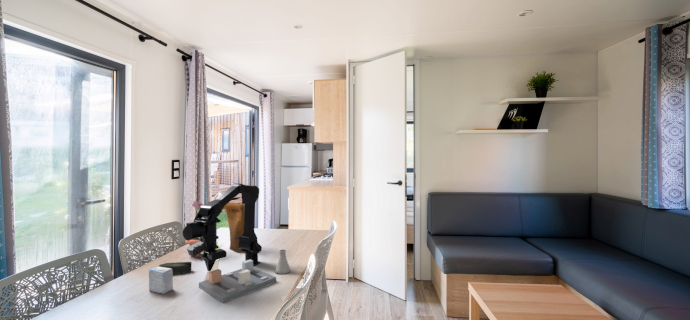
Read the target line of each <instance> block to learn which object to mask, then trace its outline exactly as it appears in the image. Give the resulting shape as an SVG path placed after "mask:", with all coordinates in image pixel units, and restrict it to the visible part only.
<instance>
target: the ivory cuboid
mask: <svg viewBox="0 0 690 320" xmlns="http://www.w3.org/2000/svg"><path fill="white" fill-rule="evenodd" d="M248 282H250V271H249V270H244V271H241V272H238V283H239V284H241V285H242V284H245V283H248Z"/></svg>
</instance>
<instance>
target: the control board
mask: <svg viewBox="0 0 690 320" xmlns="http://www.w3.org/2000/svg"><path fill="white" fill-rule="evenodd" d="M241 271H242V268H240V269H237V270H234V271H230V272H227V273H224V274H221V281H220V282H217V283H214V284H211V283H209V278H208V279H205V280H203V281H199V282H198V288H199V289H201V290H202V291H204V292H205V293H206V294H207V295H210V296H211V297H213V298H214V299H216V300H217V301H219V302H221V304H224V303H227V302H229V301H232V300H234V299H237V298H239V297H242V296H244V295H246V294H247V295H248V294H250V293H253V292H254V291H257V290H259V289H262V288H264V287H267V286H269V285H271V284H274V283H277V276H274V275H273V274H270V273H267V272H266V271H263V270H261V269H259V268H257V267H254V266H253V271H250V282H248V283H245V284H242V285H241V284H239V283H238V272H241Z"/></svg>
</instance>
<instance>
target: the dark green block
mask: <svg viewBox="0 0 690 320" xmlns="http://www.w3.org/2000/svg"><path fill="white" fill-rule="evenodd" d="M157 267H165V268H171V269H172V271H173V275H178V274H188V273H190V272H191V271H192V261H180V262H179V261H178V262H165V263H161V264H159V265H158V266H157Z"/></svg>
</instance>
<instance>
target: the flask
mask: <svg viewBox="0 0 690 320" xmlns="http://www.w3.org/2000/svg"><path fill="white" fill-rule="evenodd" d="M286 252H287V249H280V250H279V257H278V262H277V265H276V268H275V271H274V274H278V275H283V274H284V275H286V274H288V273H289V272H291V267H290V265H289V263H288V260H287V259H288V258H287V255H286Z"/></svg>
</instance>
